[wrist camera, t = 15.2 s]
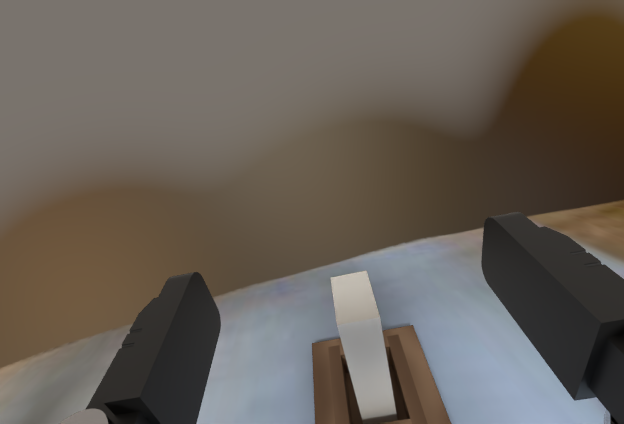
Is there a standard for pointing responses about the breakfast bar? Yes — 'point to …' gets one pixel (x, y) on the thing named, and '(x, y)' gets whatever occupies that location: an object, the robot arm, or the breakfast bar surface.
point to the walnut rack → (403, 373)
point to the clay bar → (364, 346)
